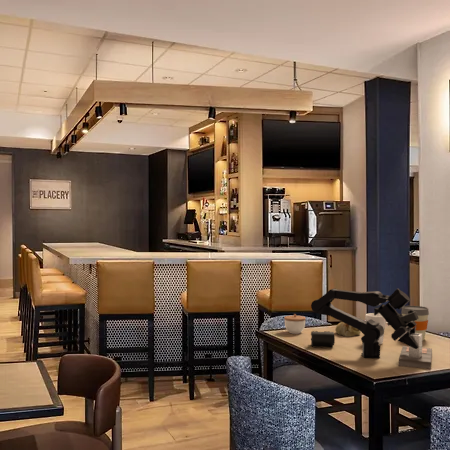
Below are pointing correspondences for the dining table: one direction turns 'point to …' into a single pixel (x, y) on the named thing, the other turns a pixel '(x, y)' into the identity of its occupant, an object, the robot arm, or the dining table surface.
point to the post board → (416, 362)
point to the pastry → (346, 330)
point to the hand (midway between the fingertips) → (419, 346)
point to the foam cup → (378, 319)
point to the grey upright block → (418, 340)
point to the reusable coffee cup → (422, 316)
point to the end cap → (322, 339)
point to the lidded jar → (294, 323)
